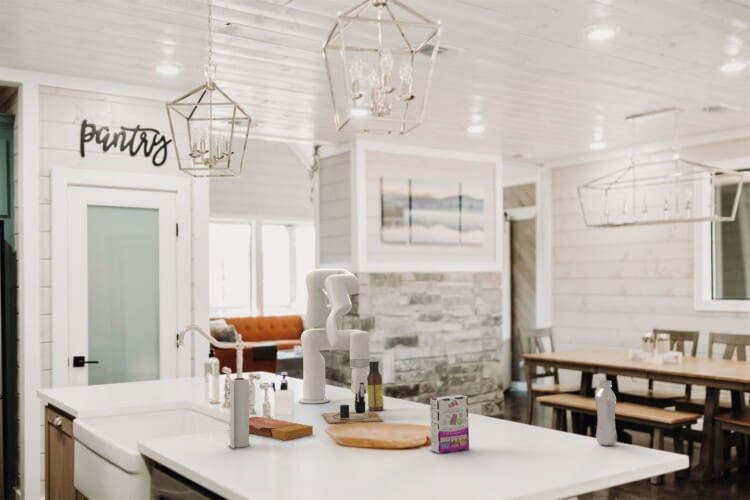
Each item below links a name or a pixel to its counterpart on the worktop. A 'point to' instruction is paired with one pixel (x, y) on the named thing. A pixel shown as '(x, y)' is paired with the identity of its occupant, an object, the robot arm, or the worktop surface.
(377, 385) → the sauce bottle
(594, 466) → the worktop surface
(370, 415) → the board
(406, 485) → the worktop surface
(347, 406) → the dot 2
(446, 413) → the candy bar box
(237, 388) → the tall grey block
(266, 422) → the brown flat block
